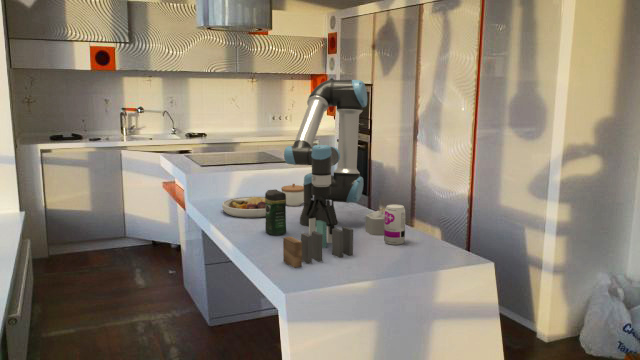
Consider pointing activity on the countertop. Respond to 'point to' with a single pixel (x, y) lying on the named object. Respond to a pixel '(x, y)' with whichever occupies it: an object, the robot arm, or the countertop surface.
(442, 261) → the countertop surface
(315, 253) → the domino
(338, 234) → the domino
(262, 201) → the bowl
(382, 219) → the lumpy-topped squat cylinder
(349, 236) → the domino
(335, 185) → the robot arm
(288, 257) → the end block
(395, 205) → the supplement can
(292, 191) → the lidded bowl
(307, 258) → the domino
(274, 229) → the coffee jar
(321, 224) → the domino
